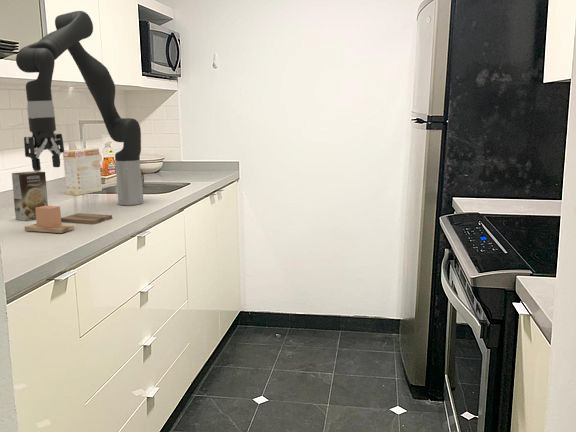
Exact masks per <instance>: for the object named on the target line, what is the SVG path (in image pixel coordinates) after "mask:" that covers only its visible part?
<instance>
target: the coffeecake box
mask: <svg viewBox="0 0 576 432" xmlns="http://www.w3.org/2000/svg"><path fill="white" fill-rule="evenodd" d="M62 157H63V158H62V159H63V171H64V179H65V189H66V190H65V191H66V195H67V196H82V195H85V194H86V195H87V194H92V193H97V192H103V185H102V174H101V163H100V162H101V161H100V159H101V158H100V150H99V148H97V147H95V148H94V147H87V148H84V147H83V148H77V149H66V150H65V149H64V152H63V153H62Z"/></svg>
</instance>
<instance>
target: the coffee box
mask: <svg viewBox="0 0 576 432" xmlns="http://www.w3.org/2000/svg"><path fill="white" fill-rule="evenodd" d="M46 179H47V177H46V172H45V171H41V170H40V171H34V170H33V171H23V172H22V171H20V172H11V180H12V181H11V182H12V191H13V194H12V195H13V204H14V212H15V213H14V217H15V220H19V221H22V220H23V222H27V221H32V219H34V220H36V210H35V208H36V207H41V206H49V203H48V192H47V191H48V189H47V180H46ZM26 220H27V221H26Z"/></svg>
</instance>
